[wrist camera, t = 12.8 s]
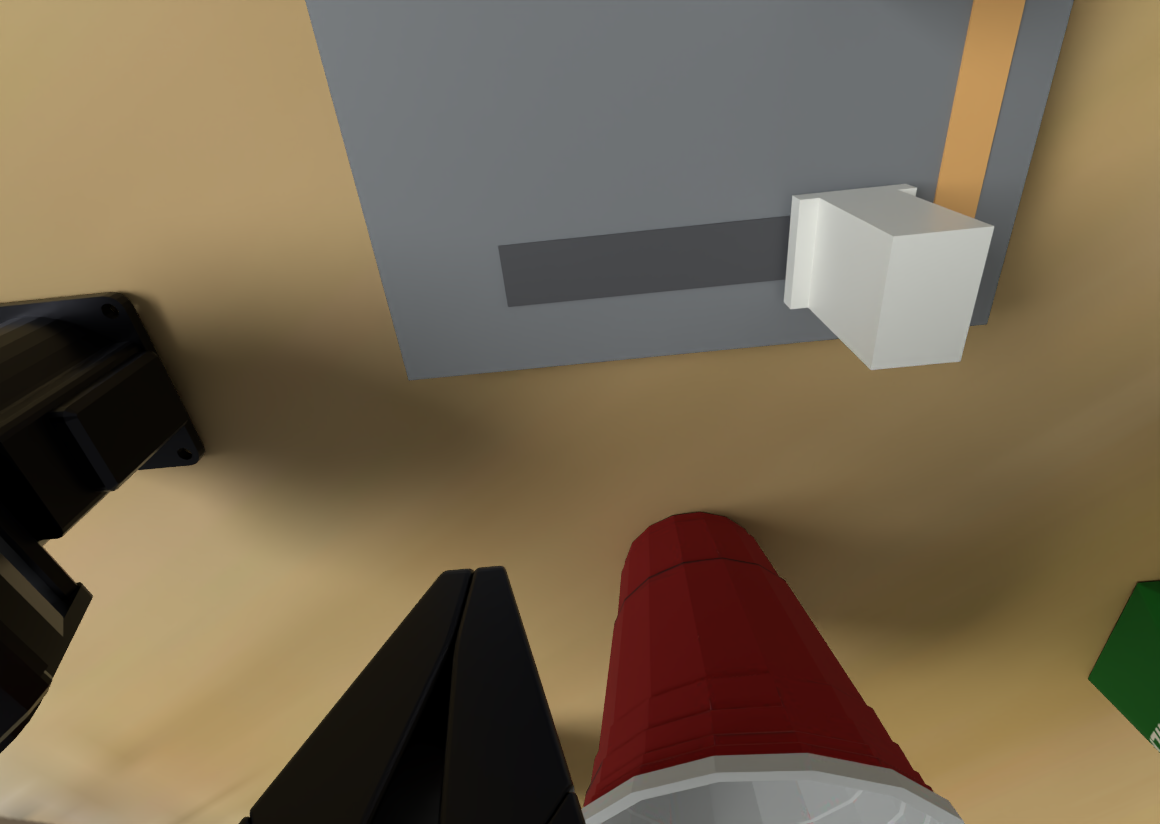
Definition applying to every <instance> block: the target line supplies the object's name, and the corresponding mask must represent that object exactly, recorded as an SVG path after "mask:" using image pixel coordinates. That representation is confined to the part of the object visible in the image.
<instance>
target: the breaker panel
mask: <svg viewBox="0 0 1160 824" xmlns="http://www.w3.org/2000/svg"><path fill="white" fill-rule="evenodd" d="M305 1H306V5H307V9H308V12H309V16H310V20H311V23H312V27H313V31H314V34H315V38H316V42H317V45H318V49H319V53H320V56H321V60H322V64H323V67H324V71H325V75H326V78H327V82H328V86H329V89H330V93H331V97H332V100H333V104H334V108H335V111H336V115H337V119H338V123H339V126H340V130H341V134H342V137H343V141H344V145H345V148H346V152H347V156H348V159H349V163H350V167H351V170H352V174H353V178H354V181H355V185H356V189H357V192H358V196H359V200H360V203H361V207H362V211H363V214H364V218H365V222H366V225H367V229H368V233H369V236H370V240H371V244H372V247H373V251H374V255H375V258H376V262H377V266H378V269H379V273H380V277H381V280H382V284H383V288H384V291H385V295H386V299H387V302H388V306H389V310H390V313H391V317H392V321H393V324H394V328H395V332H396V335H397V339H398V343H399V347H400V350H401V354H402V358H403V361H404V365H405V369H406V372H407V376H408V380H418V379H429V378H439V377H449V376H460V375H470V374H480V373H490V372H501V371H511V370H521V369H532V368H542V367H552V366H563V365H573V364H583V363H594V362H604V361H614V360H624V359H635V358H645V357H655V356H666V355H676V354H686V353H697V352H707V351H717V350H728V349H738V348H748V347H758V346H769V345H779V344H789V343H800V342H810V341H820V340H831V339H839V338H838V337H837V336H836V335H835V334H834V333H833V332H832V331H831V330H830V329H829V328H828V327H827V326H826V325H825V324H824V323H823V322H822V321H821V320H820V319H819V318H818V317H817V316H816V315H815V314H814V313H813V312H812V311H811V310H810V309H809V308H799V309H790V308H789V307H788V306H787V305H786V304H785V303H784V292H785V280H786V267H787V255H788V243H789V231H790V218H791V206H792V195H802V194H811V193H821V192H830V191H840V190H850V189H859V188H869V187H879V186H888V185H898V184H908V185H911V186H914V187H916V188H917V191H916V197H918V198H921V199H923V200H926V201H929V202H931V203H934V204H937V205H939V206H942V207H945V208H947V209H950V210H953V211H955V212H958V213H961V214H963V215H966V216H969V217H971V218H974V219H977V220H979V221H982V222H985V223H987V224H990V225H993V226H994V230H993V234H992V238H991V242H990V246H989V250H988V254H987V258H986V262H985V266H984V270H983V274H982V278H981V282H980V286H979V290H978V294H977V298H976V302H975V305H974V309H973V313H972V317H971V321H970V325H969V326H975V325H985V324H987V322H988V318H989V315H990V311H991V307H992V304H993V300H994V296H995V292H996V289H997V285H998V281H999V277H1000V274H1001V270H1002V266H1003V262H1004V259H1005V255H1006V251H1007V248H1008V244H1009V240H1010V236H1011V233H1012V229H1013V225H1014V221H1015V218H1016V214H1017V210H1018V207H1019V203H1020V199H1021V195H1022V192H1023V188H1024V184H1025V180H1026V177H1027V173H1028V169H1029V165H1030V162H1031V158H1032V154H1033V151H1034V147H1035V143H1036V139H1037V136H1038V132H1039V128H1040V124H1041V121H1042V117H1043V113H1044V109H1045V106H1046V102H1047V98H1048V95H1049V91H1050V87H1051V83H1052V80H1053V76H1054V72H1055V68H1056V65H1057V61H1058V57H1059V53H1060V50H1061V46H1062V42H1063V39H1064V35H1065V31H1066V27H1067V24H1068V20H1069V16H1070V12H1071V9H1072V5H1073V1H1074V0H305Z"/></svg>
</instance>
